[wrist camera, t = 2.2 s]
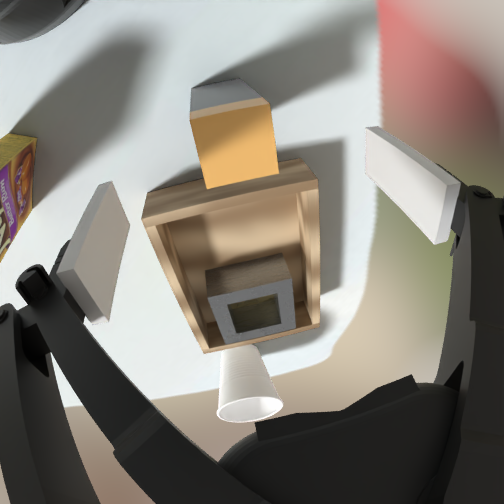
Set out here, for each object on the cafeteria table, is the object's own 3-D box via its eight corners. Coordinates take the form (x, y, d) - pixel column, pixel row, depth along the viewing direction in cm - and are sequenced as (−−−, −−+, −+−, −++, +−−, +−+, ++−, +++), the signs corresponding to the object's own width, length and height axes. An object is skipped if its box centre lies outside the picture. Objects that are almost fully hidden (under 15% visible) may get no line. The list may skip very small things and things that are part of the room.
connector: (191, 88, 25) (189, 119, 15) (239, 78, 25) (269, 103, 16) (201, 132, 28) (206, 189, 18) (247, 122, 28) (279, 173, 18)
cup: (235, 326, 46) (246, 391, 37) (280, 344, 51) (297, 401, 43) (197, 358, 50) (203, 417, 41) (243, 371, 55) (253, 425, 46)
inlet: (204, 270, 37) (207, 297, 34) (281, 252, 38) (291, 278, 34) (221, 318, 43) (225, 344, 40) (287, 303, 44) (295, 328, 40)
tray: (147, 192, 30) (141, 219, 26) (301, 158, 31) (317, 179, 27) (201, 325, 44) (203, 353, 41) (309, 300, 45) (319, 326, 41)
